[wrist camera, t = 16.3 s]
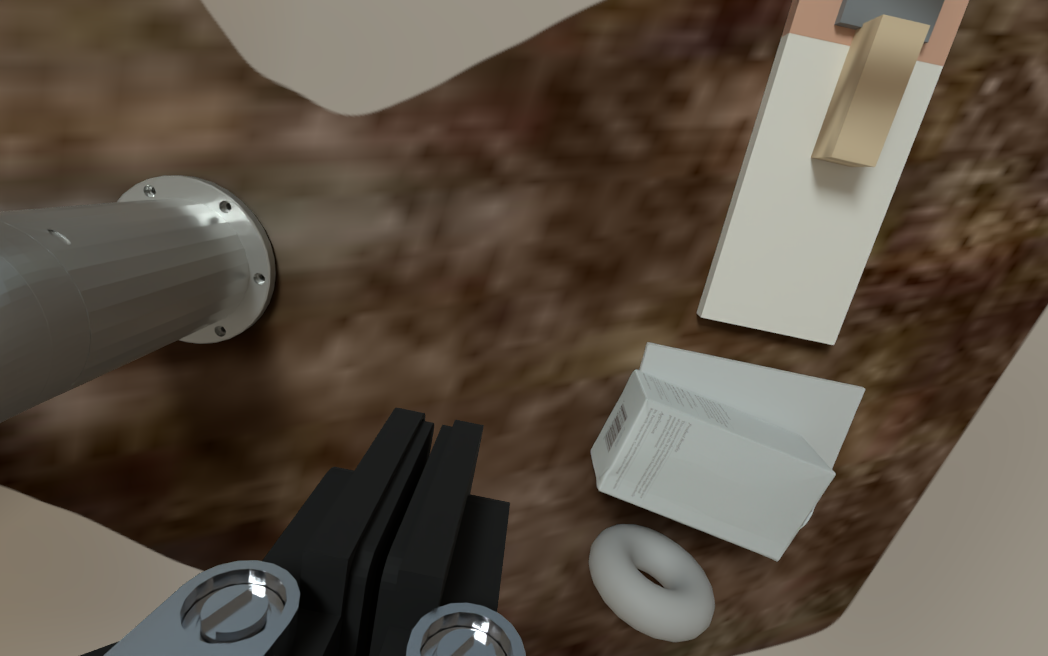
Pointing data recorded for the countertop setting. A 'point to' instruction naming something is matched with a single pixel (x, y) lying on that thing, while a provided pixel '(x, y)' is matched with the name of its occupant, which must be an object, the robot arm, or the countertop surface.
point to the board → (811, 186)
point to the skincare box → (708, 466)
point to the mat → (763, 394)
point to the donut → (651, 583)
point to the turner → (873, 76)
